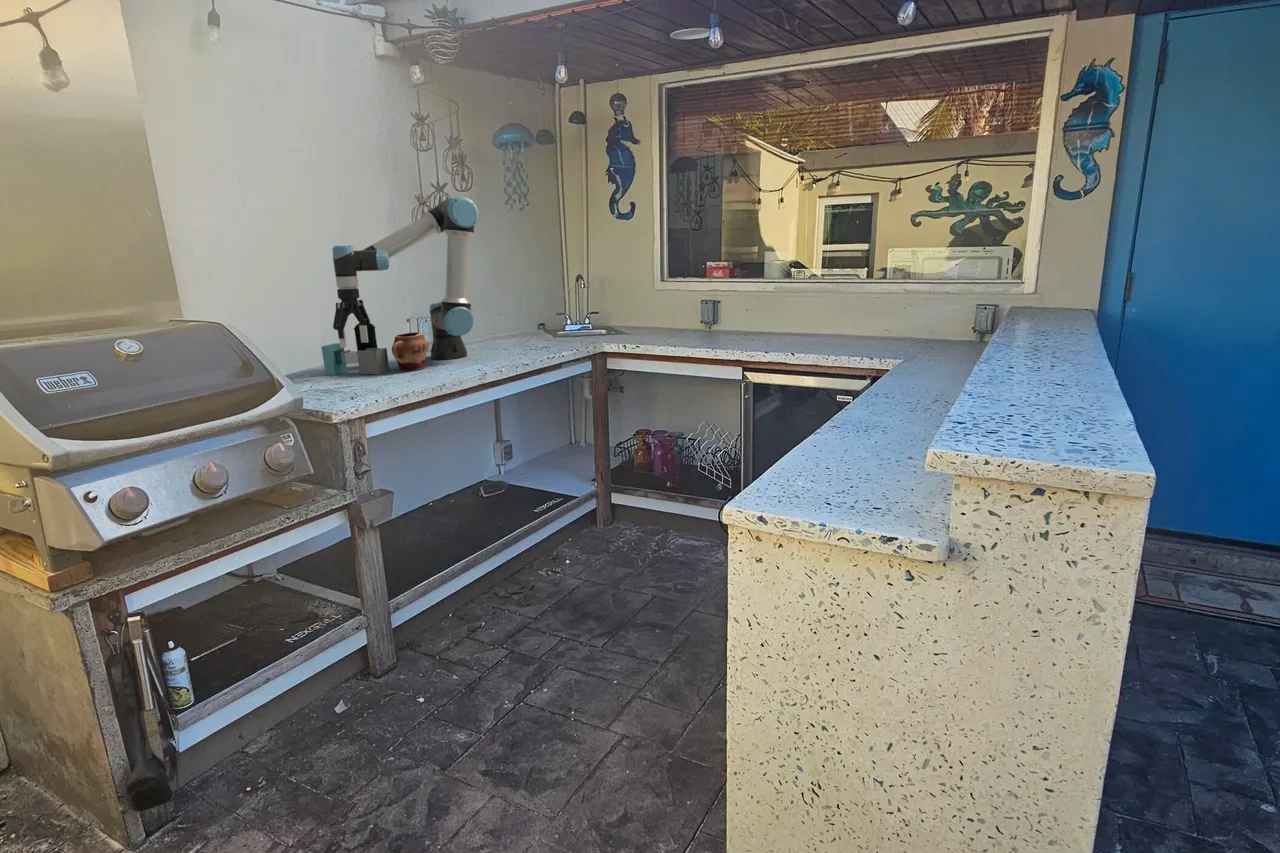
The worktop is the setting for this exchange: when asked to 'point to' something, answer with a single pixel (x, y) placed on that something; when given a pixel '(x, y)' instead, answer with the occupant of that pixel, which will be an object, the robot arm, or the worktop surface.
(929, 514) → the worktop surface
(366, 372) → the sleeve
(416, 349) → the decorative planter
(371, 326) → the aerosol can
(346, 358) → the grey square peg
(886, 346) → the worktop surface
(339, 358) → the socket block
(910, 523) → the worktop surface
